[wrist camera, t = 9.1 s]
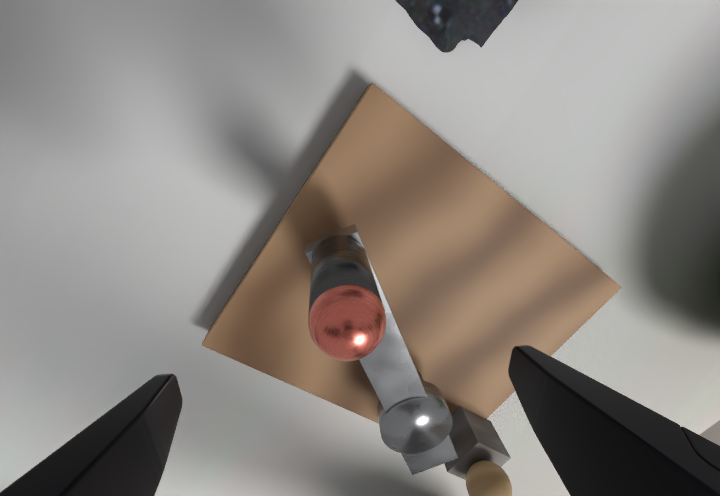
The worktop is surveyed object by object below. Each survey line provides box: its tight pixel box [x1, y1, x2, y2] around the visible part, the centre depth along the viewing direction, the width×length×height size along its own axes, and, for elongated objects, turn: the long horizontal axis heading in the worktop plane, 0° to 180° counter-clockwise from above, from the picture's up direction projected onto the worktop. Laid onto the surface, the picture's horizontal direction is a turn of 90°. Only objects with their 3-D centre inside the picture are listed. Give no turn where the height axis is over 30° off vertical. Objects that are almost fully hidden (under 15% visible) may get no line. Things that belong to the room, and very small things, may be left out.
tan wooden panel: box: [202, 83, 621, 496], centre depth 20 cm, size 22×18×7 cm
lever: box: [305, 224, 458, 475], centre depth 17 cm, size 18×4×8 cm, turn 21°
